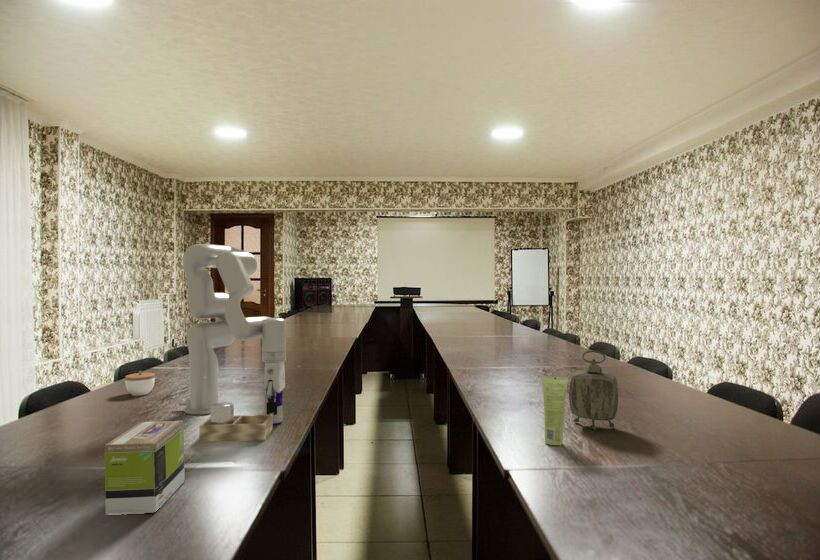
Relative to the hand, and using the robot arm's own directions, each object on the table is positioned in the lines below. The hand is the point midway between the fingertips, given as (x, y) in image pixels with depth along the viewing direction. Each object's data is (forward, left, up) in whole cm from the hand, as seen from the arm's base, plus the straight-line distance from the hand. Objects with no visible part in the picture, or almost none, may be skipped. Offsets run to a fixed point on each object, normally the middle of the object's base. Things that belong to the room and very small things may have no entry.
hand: (273, 411), depth 149 cm
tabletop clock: (+103, -9, -5) cm, 104 cm away
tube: (+85, -22, -5) cm, 88 cm away
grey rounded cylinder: (-12, -12, -3) cm, 18 cm away
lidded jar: (-64, +45, -5) cm, 78 cm away
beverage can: (0, 0, -5) cm, 5 cm away
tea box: (-16, -49, -5) cm, 52 cm away
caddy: (-8, -12, -4) cm, 15 cm away
